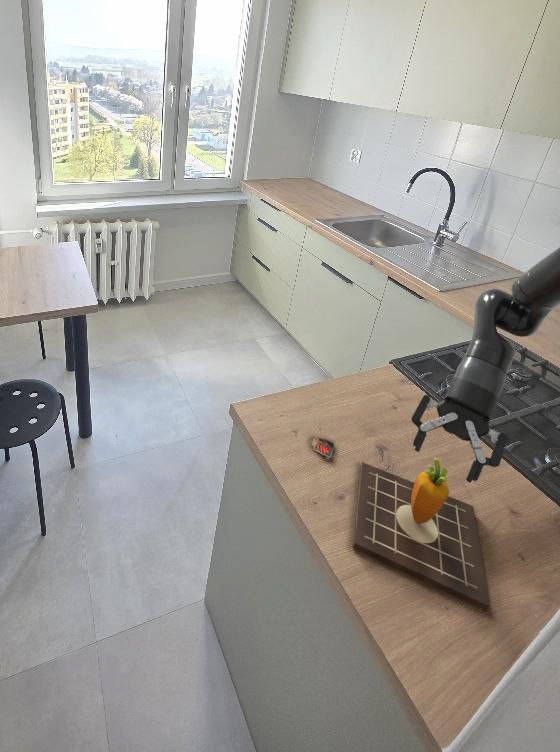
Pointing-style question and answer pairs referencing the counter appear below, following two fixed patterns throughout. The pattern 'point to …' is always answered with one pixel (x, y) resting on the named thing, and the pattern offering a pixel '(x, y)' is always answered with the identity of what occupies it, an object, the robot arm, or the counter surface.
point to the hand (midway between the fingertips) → (441, 465)
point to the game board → (420, 537)
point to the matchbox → (323, 446)
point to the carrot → (429, 493)
